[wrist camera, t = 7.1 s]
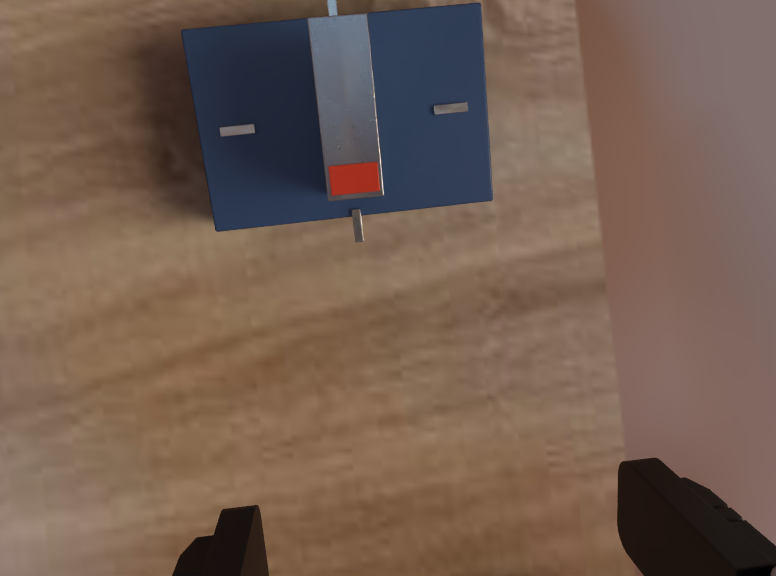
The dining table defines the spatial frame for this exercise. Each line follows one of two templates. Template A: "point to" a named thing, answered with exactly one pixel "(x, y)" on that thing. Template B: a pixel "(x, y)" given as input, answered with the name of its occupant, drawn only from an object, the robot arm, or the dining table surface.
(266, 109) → the toggle switch base
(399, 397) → the dining table surface
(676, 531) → the robot arm
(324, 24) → the toggle switch lever
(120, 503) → the dining table surface
